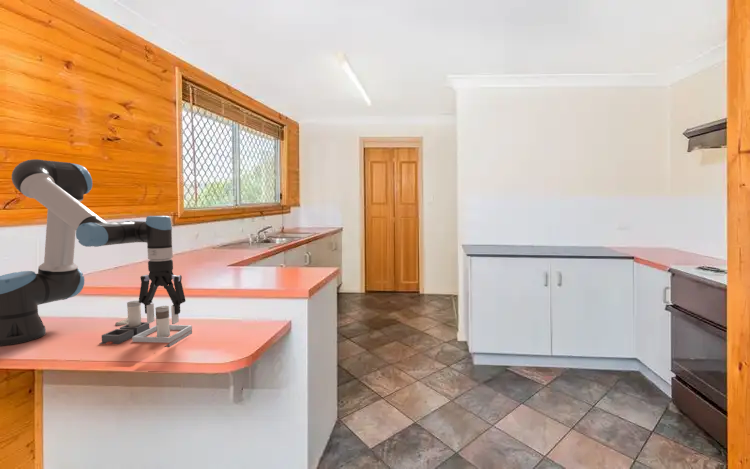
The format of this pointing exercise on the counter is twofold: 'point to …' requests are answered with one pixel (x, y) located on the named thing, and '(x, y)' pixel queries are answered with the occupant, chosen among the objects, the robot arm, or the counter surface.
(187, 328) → the grey square frame
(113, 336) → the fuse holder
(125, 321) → the coral
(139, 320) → the cylinder
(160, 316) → the cylinder
